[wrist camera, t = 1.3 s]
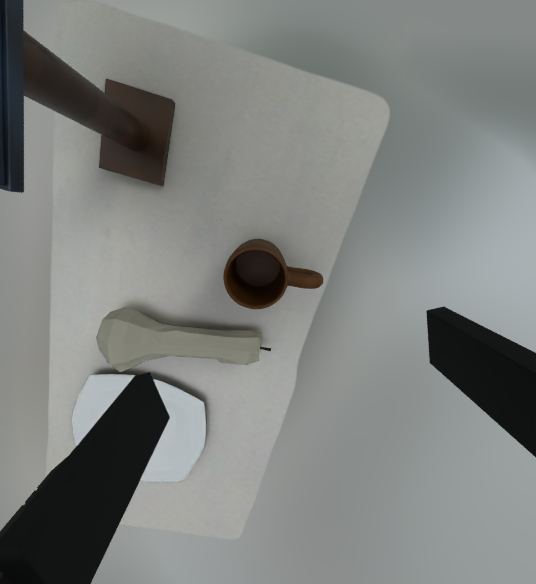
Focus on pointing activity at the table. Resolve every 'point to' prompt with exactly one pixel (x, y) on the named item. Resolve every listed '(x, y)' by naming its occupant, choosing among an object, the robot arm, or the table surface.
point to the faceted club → (170, 341)
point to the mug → (263, 275)
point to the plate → (175, 438)
